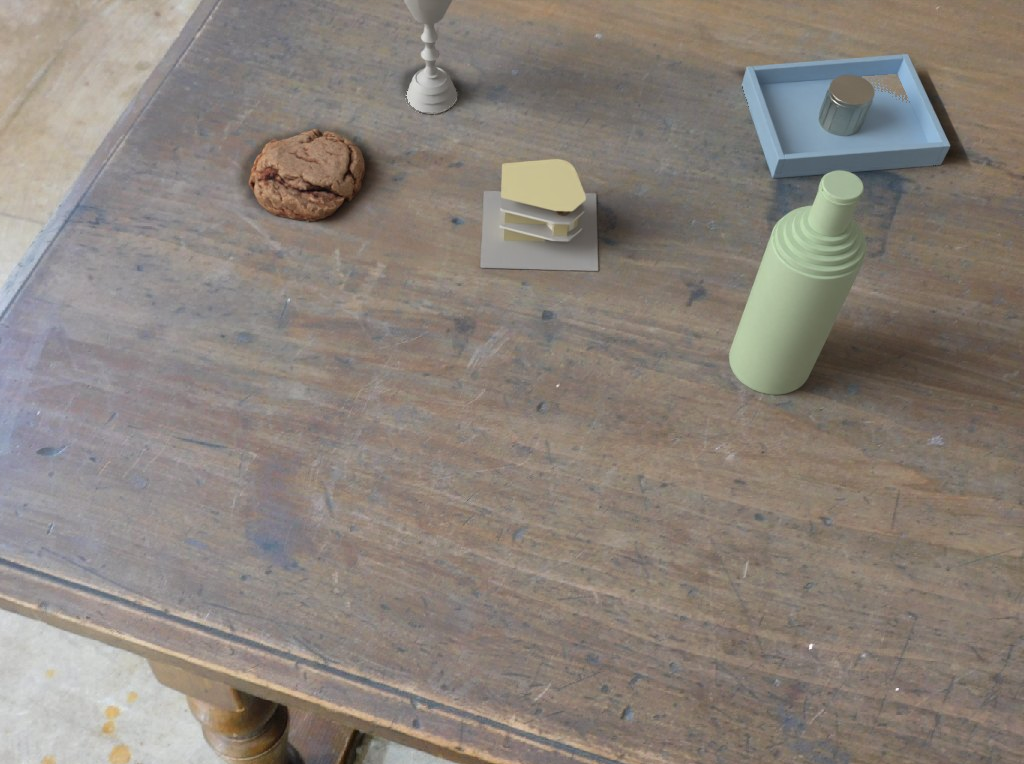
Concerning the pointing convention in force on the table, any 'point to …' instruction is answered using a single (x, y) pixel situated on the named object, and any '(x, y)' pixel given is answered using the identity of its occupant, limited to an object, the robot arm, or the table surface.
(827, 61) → the tray
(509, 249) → the stacked layers on plate
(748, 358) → the bottle
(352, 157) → the cookie
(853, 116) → the bronze metal cap
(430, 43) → the chalice
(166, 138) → the table surface
